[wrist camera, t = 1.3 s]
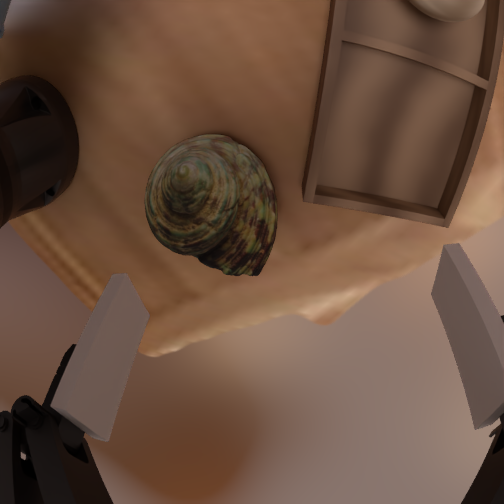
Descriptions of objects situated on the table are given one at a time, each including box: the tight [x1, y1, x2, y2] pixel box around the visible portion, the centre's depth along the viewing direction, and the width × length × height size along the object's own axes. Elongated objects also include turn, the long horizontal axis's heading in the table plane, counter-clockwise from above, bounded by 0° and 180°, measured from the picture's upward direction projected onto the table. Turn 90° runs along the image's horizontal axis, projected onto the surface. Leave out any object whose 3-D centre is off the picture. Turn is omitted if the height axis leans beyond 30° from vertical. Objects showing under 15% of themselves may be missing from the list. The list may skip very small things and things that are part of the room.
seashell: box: [145, 134, 277, 276], centre depth 24 cm, size 11×11×10 cm
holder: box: [302, 0, 504, 228], centre depth 18 cm, size 14×27×3 cm, turn 175°
